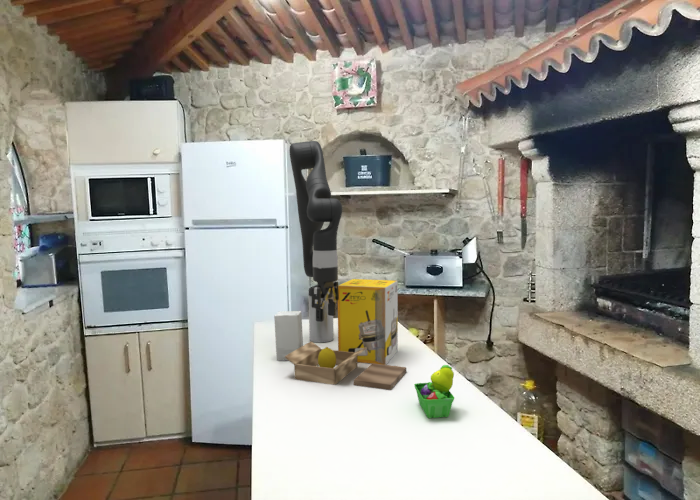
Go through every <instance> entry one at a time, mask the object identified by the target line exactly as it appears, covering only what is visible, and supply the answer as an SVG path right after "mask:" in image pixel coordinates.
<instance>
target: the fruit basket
mask: <svg viewBox="0 0 700 500" xmlns="http://www.w3.org/2000/svg"><path fill="white" fill-rule="evenodd" d="M454 375H455V372H454V370H453V366H450V365H448V364H444V365H442V366H441V367H440V369H438V370H436V371H434V372H433V373H432V374H431V375H430V380H431V381H428V382H417V383H414V389H415V391H416V395H417V399H418V404H419V405H420V407H421V409H422V411H423V412H424V414H425V415H426V418H428V419H432V418H434V419H436V418H437V419H438V418H439V417H440V418H449V416H450V413H451V409H452V406H453V403H454V401H455V396H454V395H453V394H452V393H451V389H452V387H453V383H454Z"/></svg>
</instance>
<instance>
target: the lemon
mask: <svg viewBox="0 0 700 500" xmlns="http://www.w3.org/2000/svg"><path fill="white" fill-rule="evenodd" d="M321 349H322V350H321V351H320V353H319V356H318V367H326V368H335V367H336V365H335V364H336V356H335V353H334V351H333V350H334V349H332V348H329V347H328V346H326V347H324V348H321Z"/></svg>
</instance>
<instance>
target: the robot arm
mask: <svg viewBox="0 0 700 500" xmlns="http://www.w3.org/2000/svg"><path fill="white" fill-rule="evenodd" d="M288 151H289V158H290V159H289V160H290V164H291V165H290V166H291V170H292V174H293V175H292V176H293V181H294V186H295V194H296V202H297V213H298V220H299V227H300V234H301V243H302V256H303V257H302V258H303V269H304V273H305V275H306V277H308V278H312V281H314V282H316V283H317V284H316V285H312V286H310V287H309V288H308V323H309V324H308V325H309V326H308V328H309V329H308V331H309V333H308V334H309V335H308V336H309V342H311V341H312V342H313V343H328V342H331V341H333V340H334V336H335V335H334V316H335V315H336V303H337V301H338V300H339V291H338V285H339V282H338V280H339V273H338V272H339V266H338V265H339V264H338V263H339V262H338V251H337V248H338V247H337V246H338V245H337V244H338V242H337V241H338V240H337V237H338V230H339V225H340V223H341V219H342V214H343V205H342V203H341V201H340V200H339V199H337V198H332V192H331V188H330V185H329V183H328V179H327V174H326V173H327V172H326V171H327V170H326V165H325V158H324V153H323V152H324V151H323V149H322V146H321V144H320V143H319V141H317V140H311V141H310V140H309V141H308V140H307V141H301V142H294V143H290V145H289V150H288ZM310 169H312V170H311V171H310V172H309V174H308V176H307V177H306V179H305V177H304V175H303V172H302V171H303V170H310ZM325 223H329V224H328V226H327V227H326V228H324V229H322V228H323V226H324V224H325Z"/></svg>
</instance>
